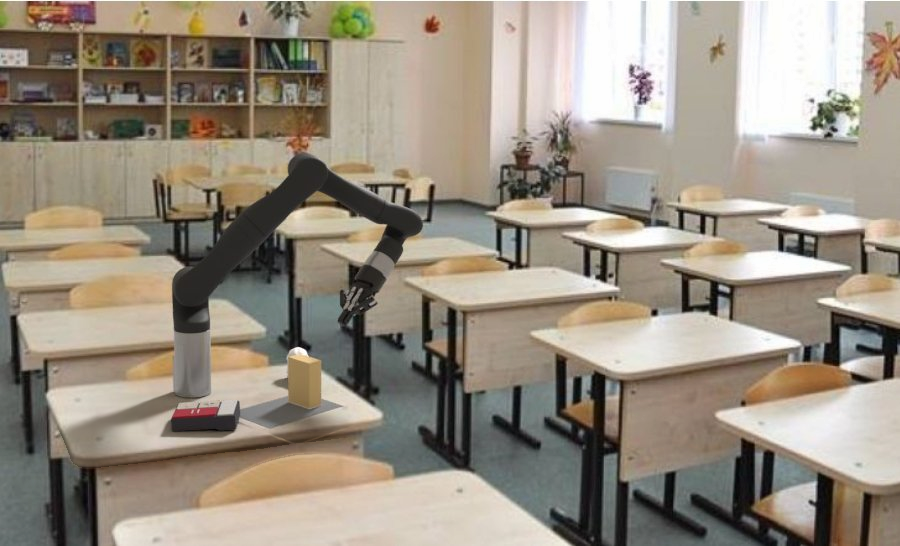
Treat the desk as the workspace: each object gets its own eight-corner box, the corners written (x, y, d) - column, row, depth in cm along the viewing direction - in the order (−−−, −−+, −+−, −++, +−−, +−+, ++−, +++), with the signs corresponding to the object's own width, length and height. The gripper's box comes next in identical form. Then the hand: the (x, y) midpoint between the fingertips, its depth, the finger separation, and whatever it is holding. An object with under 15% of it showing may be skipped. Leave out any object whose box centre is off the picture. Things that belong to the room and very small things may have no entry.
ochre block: (288, 402, 272) (288, 357, 270) (300, 398, 275) (300, 354, 273) (309, 409, 267) (309, 363, 265) (321, 405, 270) (321, 360, 268)
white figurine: (309, 345, 296) (308, 361, 284) (309, 373, 298) (308, 390, 287) (286, 345, 295) (284, 361, 284) (286, 373, 297) (284, 390, 286)
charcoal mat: (228, 414, 263) (228, 412, 263) (301, 393, 281) (301, 391, 281) (270, 430, 253) (270, 428, 253) (343, 407, 271) (343, 405, 271)
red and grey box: (177, 401, 260) (239, 397, 261) (179, 418, 261) (240, 413, 262) (169, 416, 249) (234, 412, 250) (171, 434, 250) (236, 429, 251)
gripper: (350, 260, 286) (316, 311, 279) (385, 267, 277) (351, 320, 270) (364, 276, 291) (331, 327, 284) (399, 284, 282) (366, 337, 275)
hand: (341, 324), depth 277 cm, fingers closed
